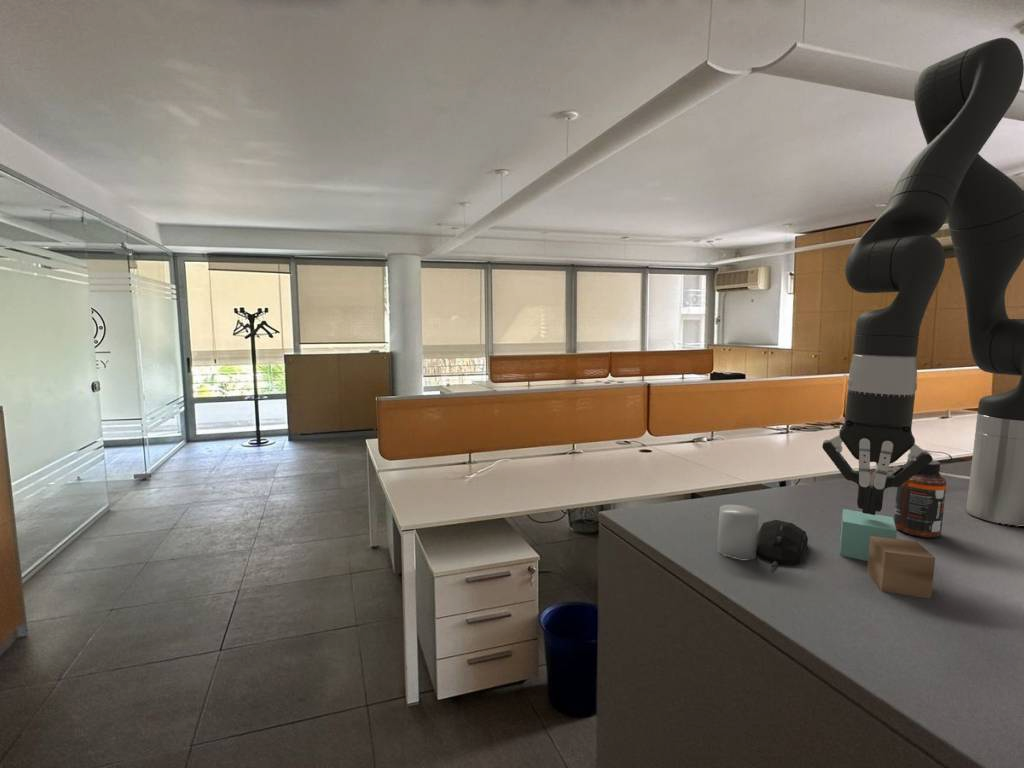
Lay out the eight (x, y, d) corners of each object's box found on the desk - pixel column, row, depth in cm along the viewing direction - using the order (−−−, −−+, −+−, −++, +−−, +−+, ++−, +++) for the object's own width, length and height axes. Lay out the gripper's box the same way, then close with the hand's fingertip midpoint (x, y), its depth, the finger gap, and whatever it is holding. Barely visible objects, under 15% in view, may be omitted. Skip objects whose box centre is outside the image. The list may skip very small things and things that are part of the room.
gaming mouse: (745, 568, 69) (747, 539, 69) (762, 532, 82) (764, 507, 81) (800, 581, 66) (802, 551, 65) (808, 542, 78) (810, 516, 78)
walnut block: (866, 573, 68) (870, 536, 67) (912, 579, 66) (916, 541, 66) (881, 591, 63) (885, 551, 63) (930, 598, 62) (935, 557, 61)
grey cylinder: (721, 542, 77) (723, 502, 76) (758, 550, 74) (761, 509, 73) (713, 554, 73) (716, 512, 72) (753, 563, 70) (756, 520, 69)
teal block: (840, 541, 78) (842, 508, 78) (889, 551, 75) (892, 517, 74) (839, 556, 73) (843, 521, 72) (893, 567, 70) (896, 530, 69)
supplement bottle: (949, 541, 79) (958, 467, 77) (904, 537, 80) (912, 464, 78) (927, 526, 84) (934, 457, 83) (885, 523, 86) (892, 454, 84)
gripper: (938, 390, 71) (924, 514, 73) (825, 383, 78) (814, 496, 80) (947, 396, 65) (932, 532, 67) (823, 387, 72) (812, 510, 74)
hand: (868, 512), depth 73 cm, fingers closed
